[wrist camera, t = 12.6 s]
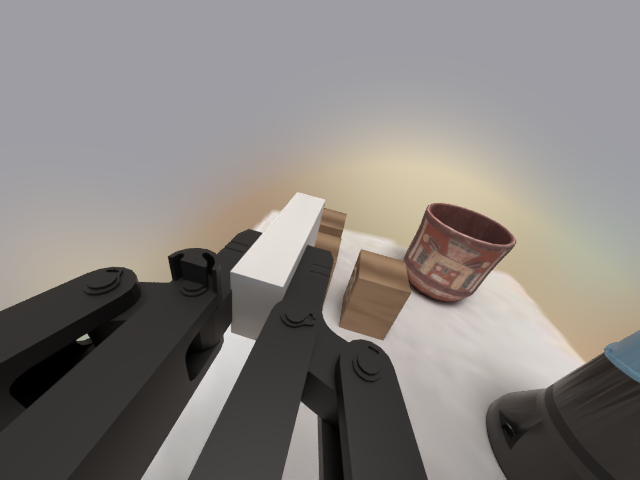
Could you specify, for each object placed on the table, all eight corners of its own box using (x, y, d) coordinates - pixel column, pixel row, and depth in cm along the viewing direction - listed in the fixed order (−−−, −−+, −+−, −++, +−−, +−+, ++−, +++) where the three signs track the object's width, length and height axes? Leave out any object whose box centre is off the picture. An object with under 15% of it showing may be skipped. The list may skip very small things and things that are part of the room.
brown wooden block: (292, 273, 50) (300, 226, 43) (327, 284, 49) (341, 238, 43) (279, 300, 43) (287, 249, 37) (320, 312, 43) (335, 263, 36)
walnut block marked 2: (343, 295, 47) (359, 248, 41) (381, 306, 47) (404, 261, 41) (338, 326, 41) (357, 277, 34) (382, 340, 40) (411, 293, 34)
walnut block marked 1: (303, 246, 59) (312, 204, 53) (334, 255, 59) (346, 214, 52) (295, 264, 52) (303, 219, 46) (329, 274, 52) (342, 230, 45)
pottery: (389, 254, 64) (416, 195, 54) (449, 267, 65) (486, 211, 55) (404, 303, 49) (445, 234, 39) (481, 319, 50) (540, 255, 40)
